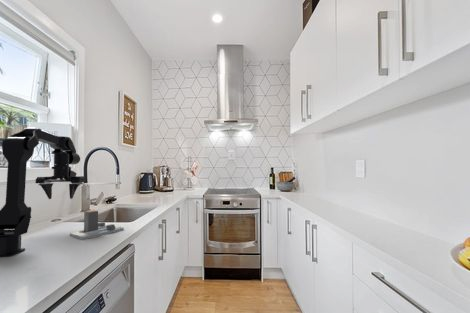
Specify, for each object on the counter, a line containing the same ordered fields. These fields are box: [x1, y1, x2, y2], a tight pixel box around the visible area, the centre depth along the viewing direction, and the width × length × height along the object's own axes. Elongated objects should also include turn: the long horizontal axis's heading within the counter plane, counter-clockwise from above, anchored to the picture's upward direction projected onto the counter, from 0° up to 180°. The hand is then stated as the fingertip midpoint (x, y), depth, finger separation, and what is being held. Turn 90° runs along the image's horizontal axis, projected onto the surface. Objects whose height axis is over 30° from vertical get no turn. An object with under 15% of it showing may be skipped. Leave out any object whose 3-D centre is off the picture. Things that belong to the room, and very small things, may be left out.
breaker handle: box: [83, 209, 99, 232], centre depth 107 cm, size 4×4×9 cm
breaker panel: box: [69, 221, 125, 241], centre depth 110 cm, size 18×10×3 cm, turn 146°
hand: (60, 198), depth 113 cm, fingers open, 9 cm apart
